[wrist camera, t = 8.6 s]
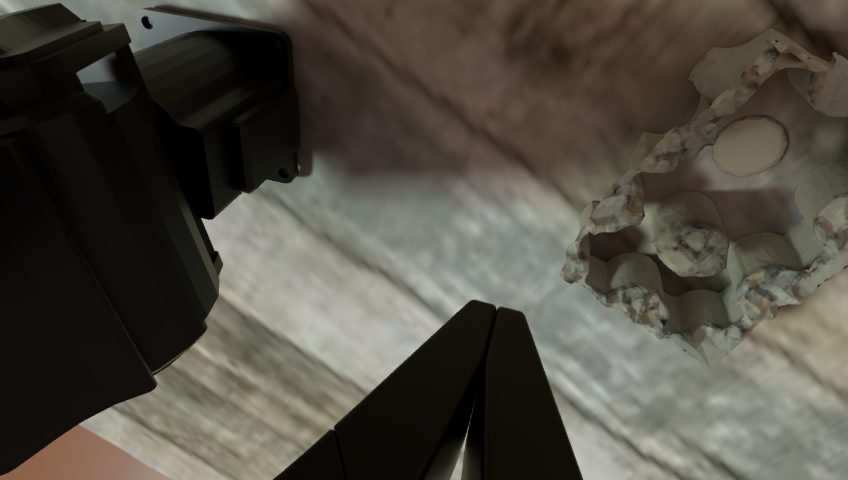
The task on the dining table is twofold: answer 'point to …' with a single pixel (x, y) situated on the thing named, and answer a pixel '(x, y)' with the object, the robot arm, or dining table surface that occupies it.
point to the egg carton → (699, 219)
